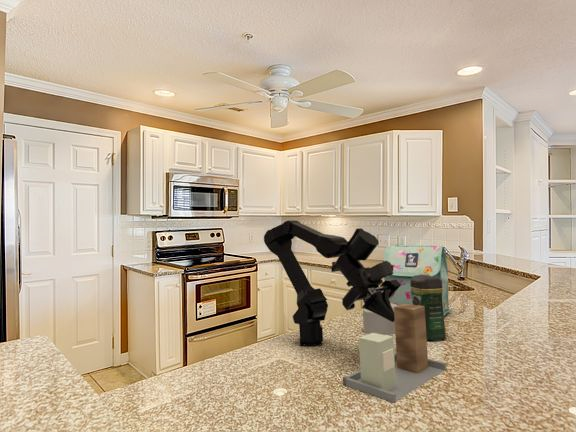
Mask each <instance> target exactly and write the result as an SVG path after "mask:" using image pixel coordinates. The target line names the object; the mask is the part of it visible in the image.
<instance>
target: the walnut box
mask: <svg viewBox="0 0 576 432" xmlns="http://www.w3.org/2000/svg"><path fill="white" fill-rule="evenodd" d="M394 318H395V334H394V335H395V348H396V349H395V350H396V352H395V353H397V368H399V369H402V370H406V371H410V372H413V373H417V374H418V373H420V372H421V371H423V370H425V369H426V368H428V359H429V355H428V340H427V338H426V322H425V306H420V305H411V304H402V305H399V306H396V307H394Z"/></svg>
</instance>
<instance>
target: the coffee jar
mask: <svg viewBox="0 0 576 432" xmlns="http://www.w3.org/2000/svg"><path fill="white" fill-rule="evenodd" d="M410 286H411V287H410V288H411V293H412V305H420V306H425V322H426V338H427V341H429V340H430V341H433V342H434V341H435V342H436V341H441V340H444V339H446V336H447V335H446V332H447V331H446V322H445V318H444V317H445V316H444V314H443V304H442V292H443V288H442V281H441V279H439V278H438V277H433V276H428V275H415V276H413V277H412V278H411V281H410Z"/></svg>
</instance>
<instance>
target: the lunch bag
mask: <svg viewBox="0 0 576 432" xmlns="http://www.w3.org/2000/svg"><path fill="white" fill-rule="evenodd" d="M383 261H388V262H390V263H391V265H393V266H394V268H393V274H392V275H388V276H386V277H384V278H383V279H384V280H383V282H384V281H385V280H390V279H396V280H397V281H398V282H399V283H400V284H401V286H400V287H399V288H398V289H397V290H396V291H395V293H394V294H393V295H392V296H391V297H390V298H389V301H390V303H392V304H396V305H398V306H399V305H402V304H411V305H412V293H411V288H410V287H411V286H410V281H411V278H412V277H413V276H415V275H428V276H433V277H438V278H439V279H441V281H442V288H443V292H442V304H443V314H444V317H445V315H446V314H447V313H451V310H450V307H449V273H448V272H449V270H448V261H447V256H446V250H445V247H444V245H418V244H416V245H400V244H395V245H391V246H389V245H387V246H386V249H385V250H384V258H383Z"/></svg>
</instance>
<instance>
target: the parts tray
mask: <svg viewBox="0 0 576 432" xmlns="http://www.w3.org/2000/svg"><path fill="white" fill-rule="evenodd" d="M394 359H395V376H396V387H394V388H393V389H391V390H389V391H387V390H384V389H381V388H378V387H375V386H372V385H369V384H366V383H363V382H361V372H360V369H359V370H356V371H355V372H352V373H350V374H348V375H346V376H344V377H342V385H343V386H345V387H347V388H351V389H353V390H355V391H356V390H357V391H359V392H362V393H365V394H369V395H371V396H373V397H376V398H379V399H382V400H385V401H388V402H390V403H393V404H394V403H396V402H398V401H399V400H401V399H403V398H404V397H406V396H407V395H409V394H410V393H412V392H413V391H414V390H415V391H416V389H418V388H419V387H421V386H423V385H425V384H426V383H427V382H429V381H431V380H433V379H434V378H436V377H438V376H439V375H440V374H442V373H443V372H445V371H446V370H447V362H444V361H439V360H435V359H431V358H428V368H426V369H425V370H423V371H421V372H420V373H418V374H417V373H413V372H410V371H406V370H402V369H399V368H397V353H396V352H394Z"/></svg>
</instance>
